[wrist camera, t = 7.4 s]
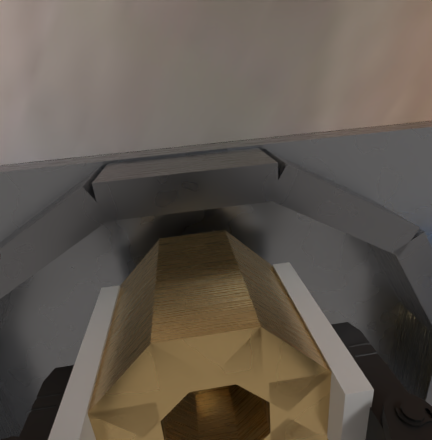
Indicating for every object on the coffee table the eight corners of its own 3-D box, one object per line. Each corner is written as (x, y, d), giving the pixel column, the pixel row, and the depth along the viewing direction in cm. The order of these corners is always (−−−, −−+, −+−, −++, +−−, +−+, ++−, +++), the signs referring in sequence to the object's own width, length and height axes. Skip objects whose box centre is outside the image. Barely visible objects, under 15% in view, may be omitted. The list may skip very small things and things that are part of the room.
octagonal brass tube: (111, 244, 13) (68, 356, 8) (269, 224, 14) (336, 315, 8) (139, 366, 16) (121, 518, 10) (272, 345, 16) (324, 478, 11)
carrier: (-106, 176, 14) (-368, 263, 7) (436, 120, 16) (631, 147, 9) (52, 509, 24) (4, 681, 17) (379, 448, 26) (453, 580, 19)
